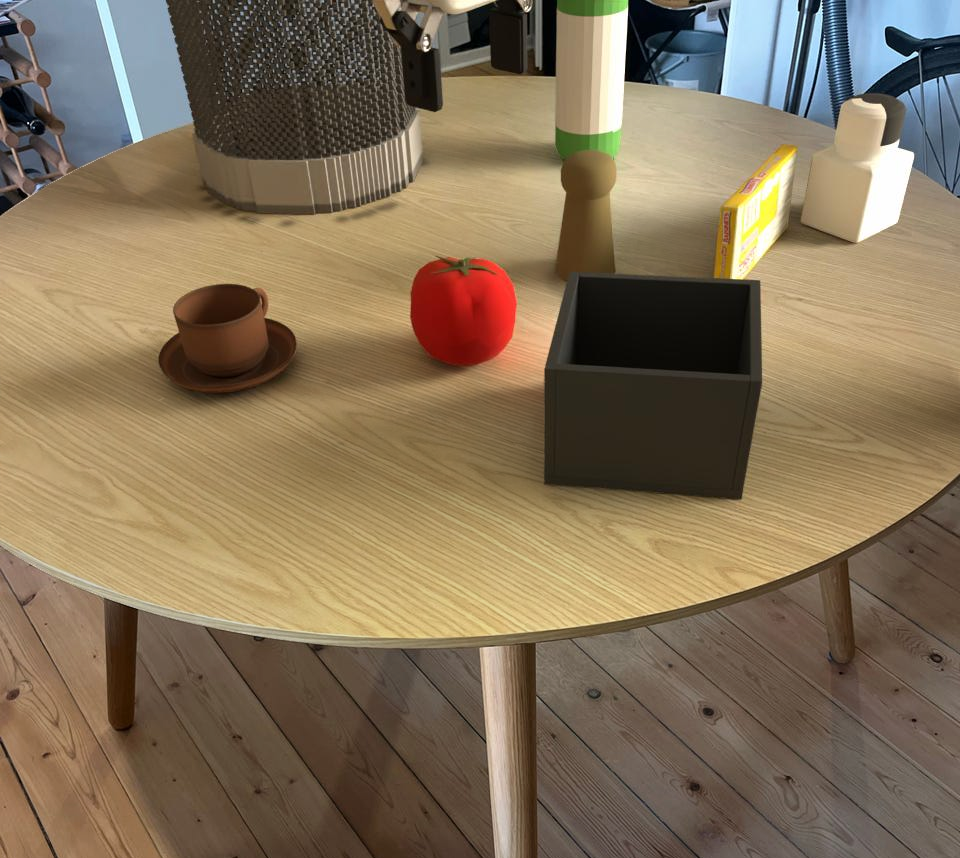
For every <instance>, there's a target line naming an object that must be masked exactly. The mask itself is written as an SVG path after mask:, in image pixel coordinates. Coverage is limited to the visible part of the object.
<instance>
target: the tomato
mask: <svg viewBox="0 0 960 858" xmlns="http://www.w3.org/2000/svg"><path fill="white" fill-rule="evenodd" d="M434 257H436V258H438V259H435V260H432V261H428V262H427V263H425V264H424V265H423V266H421V267H420V268H419V269H418V270H417V273H416V274H415V276H414V278H413V281H412V284H411V289H410V309H409V310H410V311H409V312H410V313H409V318H410V323H411V327H412V331H413V333H414V336H415V337H416V339H417V341H418V343H419V345H420V347H421V348H422V349H423V350H424V351H425V352H426V353H427V354H428V355H429V356H430V357H432V358H433V359H435V360H437V361H439V362H441V363H446V364H449V365H454V366H456V367H463V366H478V365H479V364H483V363H485V362H487V361H490V360H493V359H494V358H496V357H497V356H498V355H499V354H500V353H502V352H503V351H504V350H505V348H507V345H508V344H509V343H510V342H511V341H512V339H513V335H514V330H515V325H516V314H517V308H518V303H517V297H516V296H517V295H516V292H515V291H516V290H515V286H514V283H513V282H512V280H511V279H510V277H509V276H508V274H507V273H506V271H505V270H504V269H503V268H502V267H500V266H499V265H497V264H496V263H495V262H494V261H491V260H488V259H485V258H477V256H476V257H465V258H464V259H463V258H462V259H458V258H455V257H454V258H453V257H451V256H448V257H443V256H442V257H441V256H438V255H434Z"/></svg>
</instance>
